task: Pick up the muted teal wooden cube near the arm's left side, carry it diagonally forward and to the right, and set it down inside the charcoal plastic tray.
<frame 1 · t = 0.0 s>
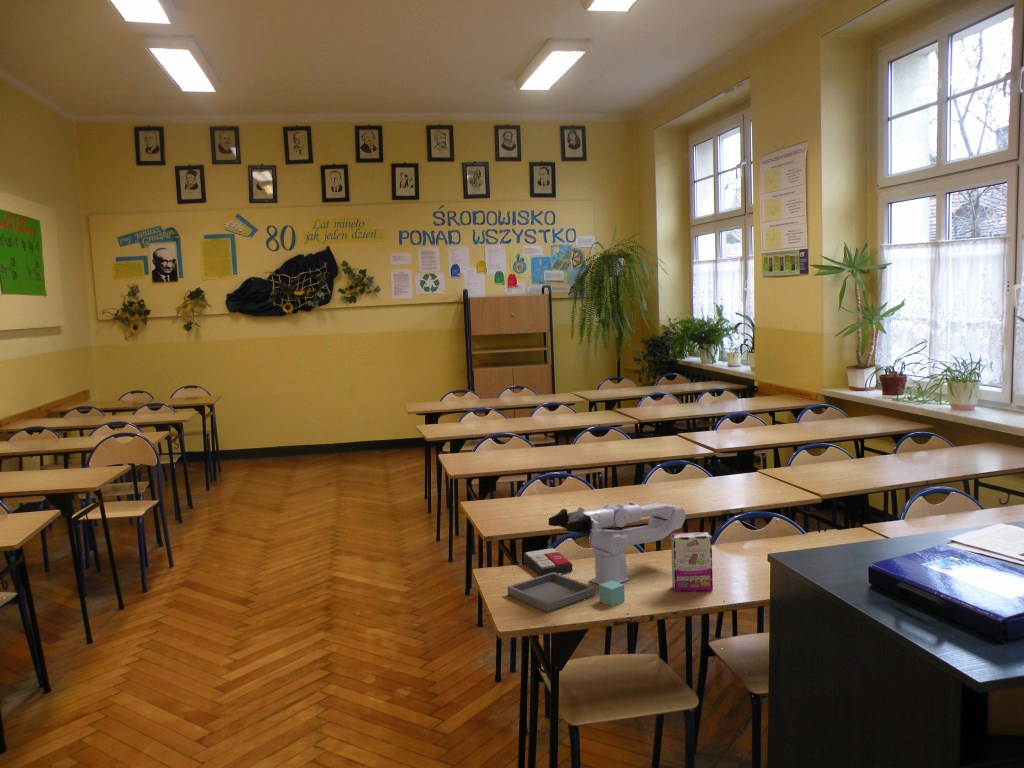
hand: (558, 524, 220), 22 cm above the table, tool horizontal, fingers open, 7 cm apart
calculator: (547, 569, 248), on the table
teal cube: (612, 601, 218), on the table
candy bar box: (691, 589, 225), on the table
charcoal tray: (550, 595, 224), on the table
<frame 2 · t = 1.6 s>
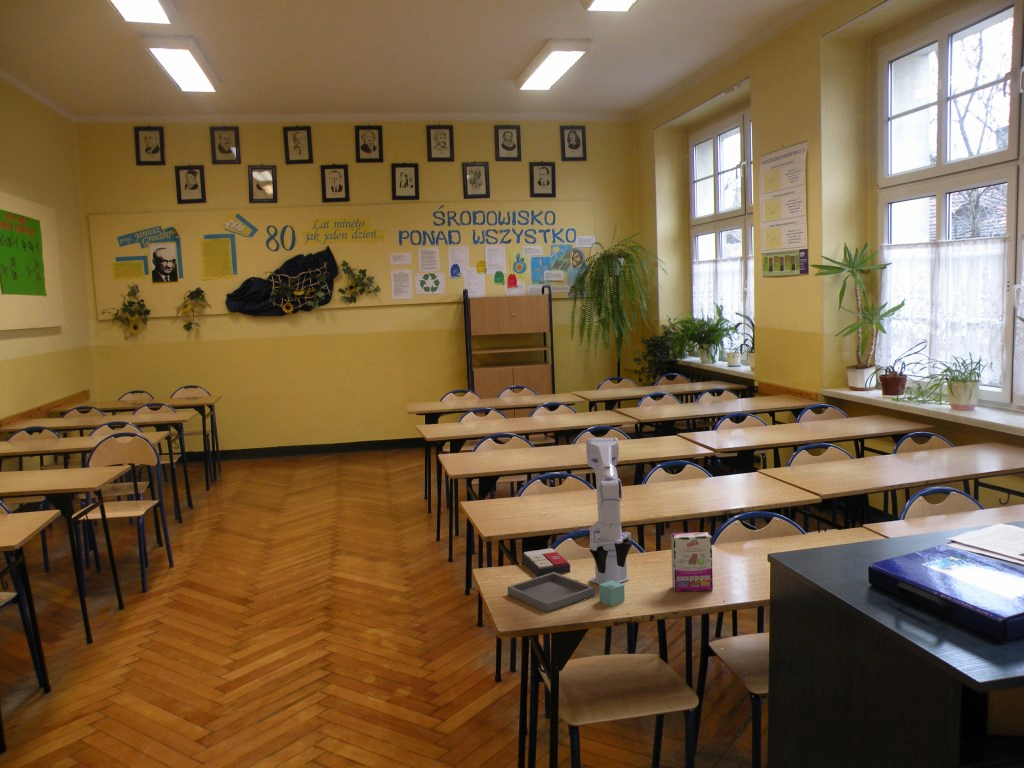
hand: (611, 569, 217), 9 cm above the table, tool pointing down, fingers open, 7 cm apart
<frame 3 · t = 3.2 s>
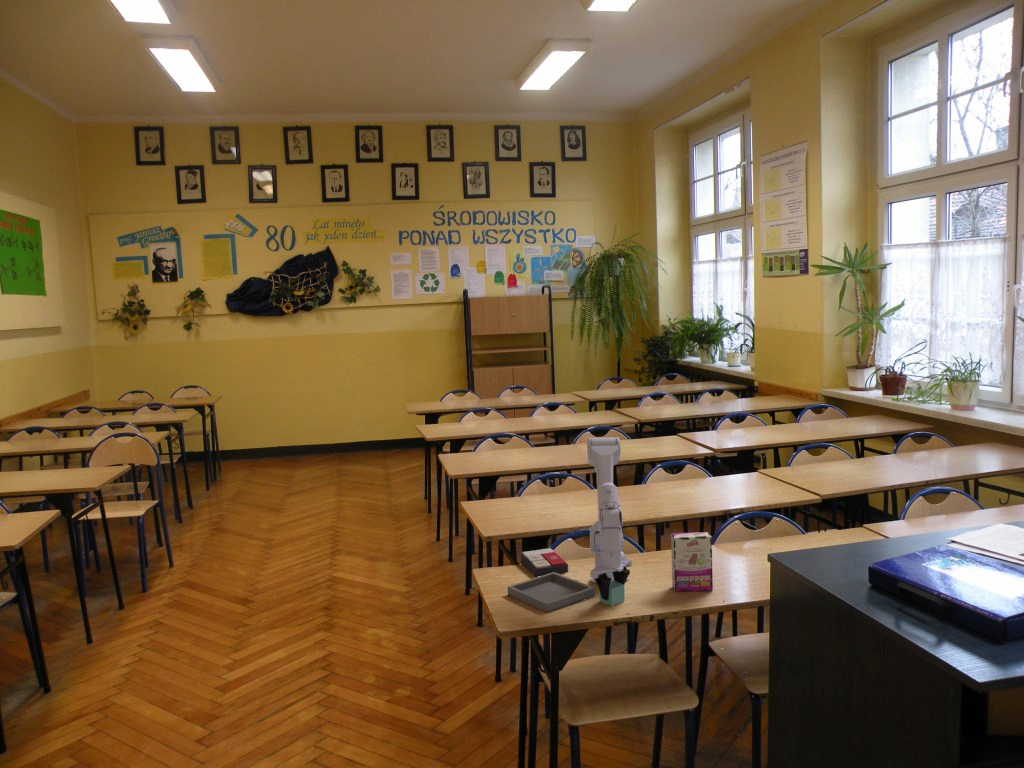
hand: (611, 596, 218), 1 cm above the table, tool pointing down, fingers closed on teal cube, 5 cm apart
teal cube: (612, 601, 218), on the table, touching gripper
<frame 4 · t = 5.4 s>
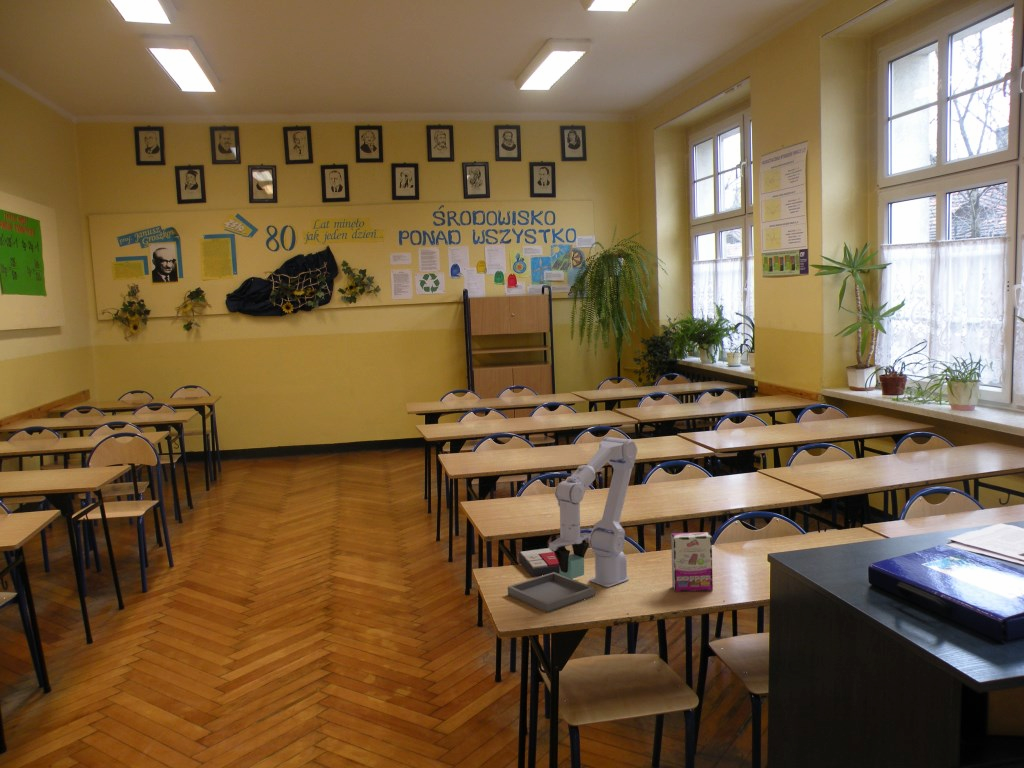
hand: (571, 569, 221), 8 cm above the table, tool pointing down, fingers closed on teal cube, 5 cm apart
teal cube: (571, 574, 221), point 7 cm above the table, touching gripper
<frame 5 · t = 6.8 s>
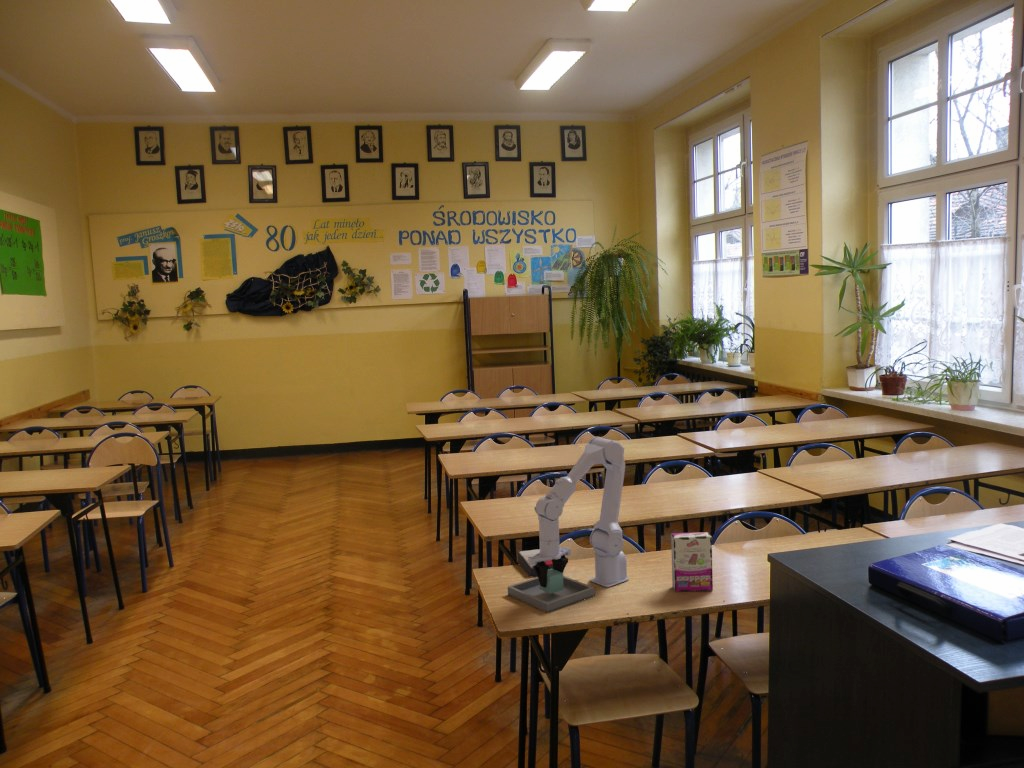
hand: (550, 584, 223), 3 cm above the table, tool pointing down, fingers closed on teal cube, 5 cm apart
teal cube: (551, 589, 223), point 2 cm above the table, touching gripper
when the fingers open (3 cm above the table, at t = 7.7 s): teal cube drops 1 cm, resting on charcoal tray.
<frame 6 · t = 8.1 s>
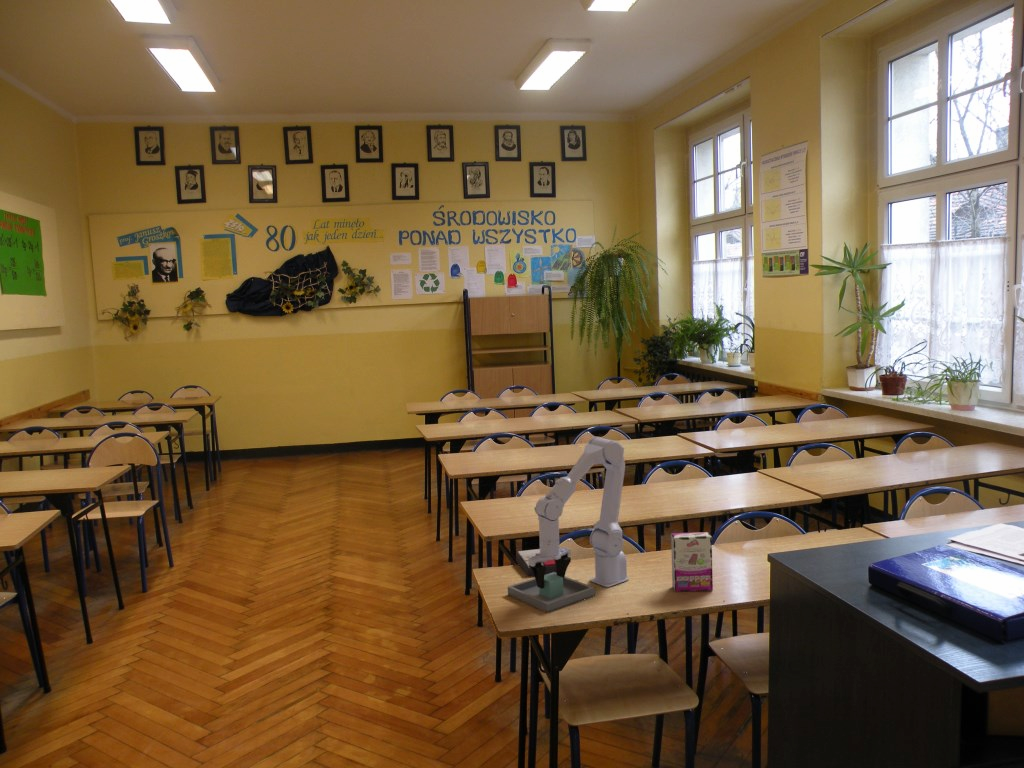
hand: (550, 584, 223), 3 cm above the table, tool pointing down, fingers open, 7 cm apart
teal cube: (551, 594, 224), resting on charcoal tray
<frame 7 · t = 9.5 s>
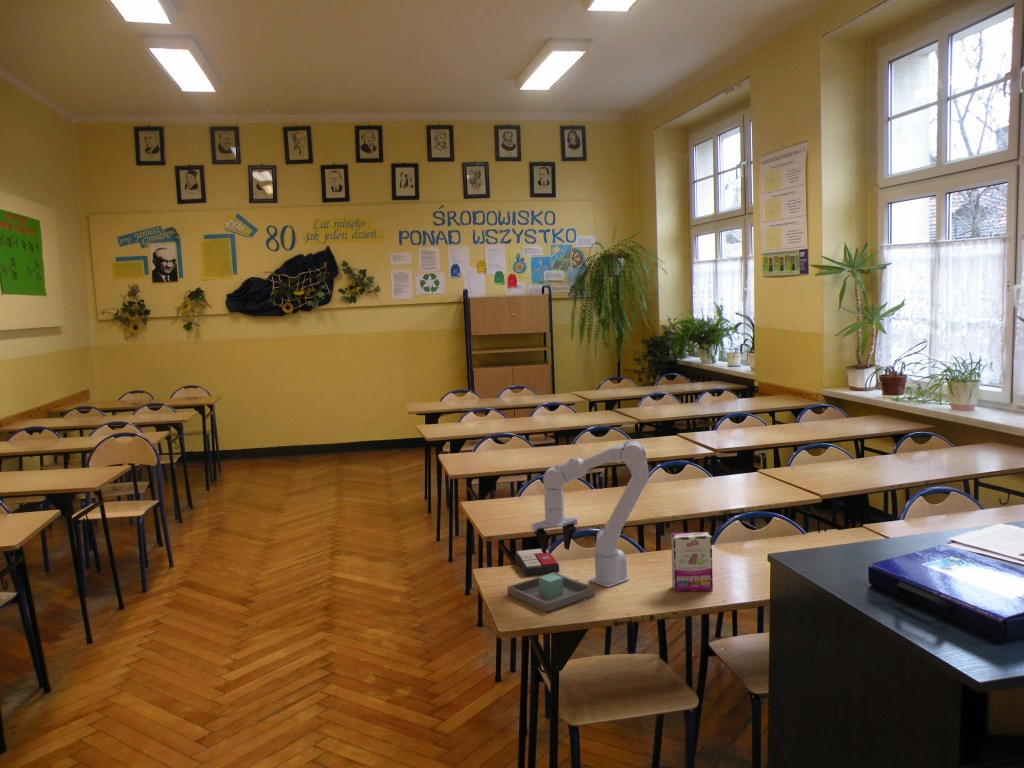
hand: (555, 550, 235), 9 cm above the table, tool pointing down, fingers open, 7 cm apart
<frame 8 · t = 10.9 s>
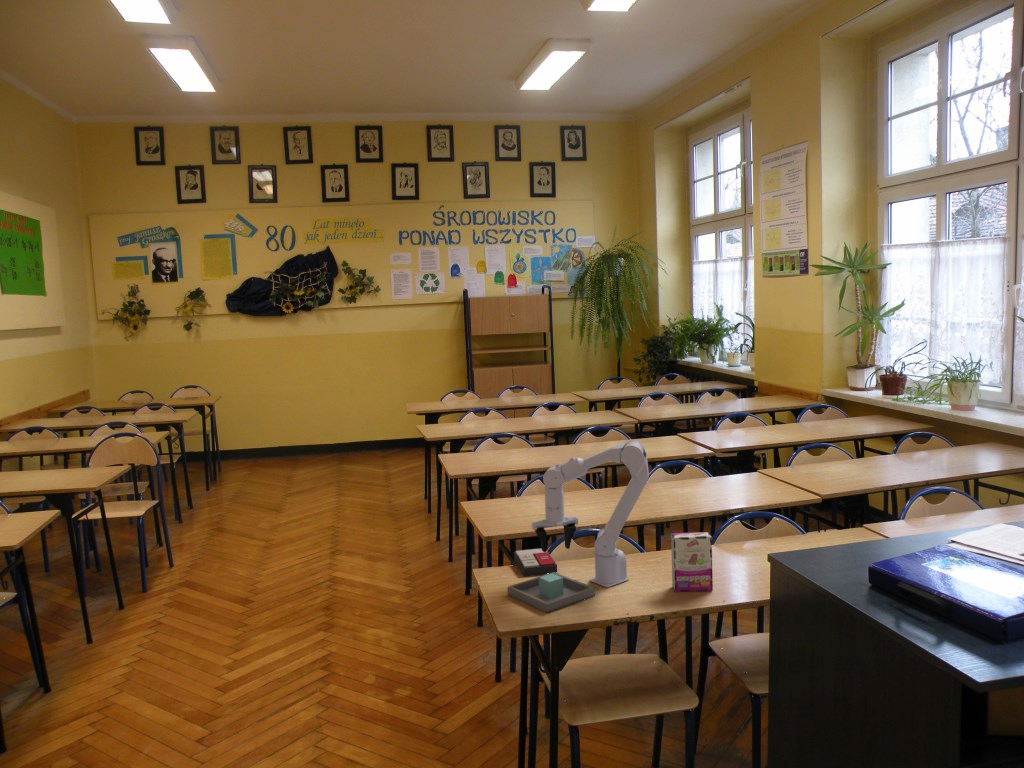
hand: (555, 549, 236), 9 cm above the table, tool pointing down, fingers open, 7 cm apart
at the end: teal cube inside the target area on the charcoal tray (0.2 cm from its centre), point 0.5 cm above the charcoal tray's base; teal cube tilted 0°; the gripper is holding nothing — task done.
